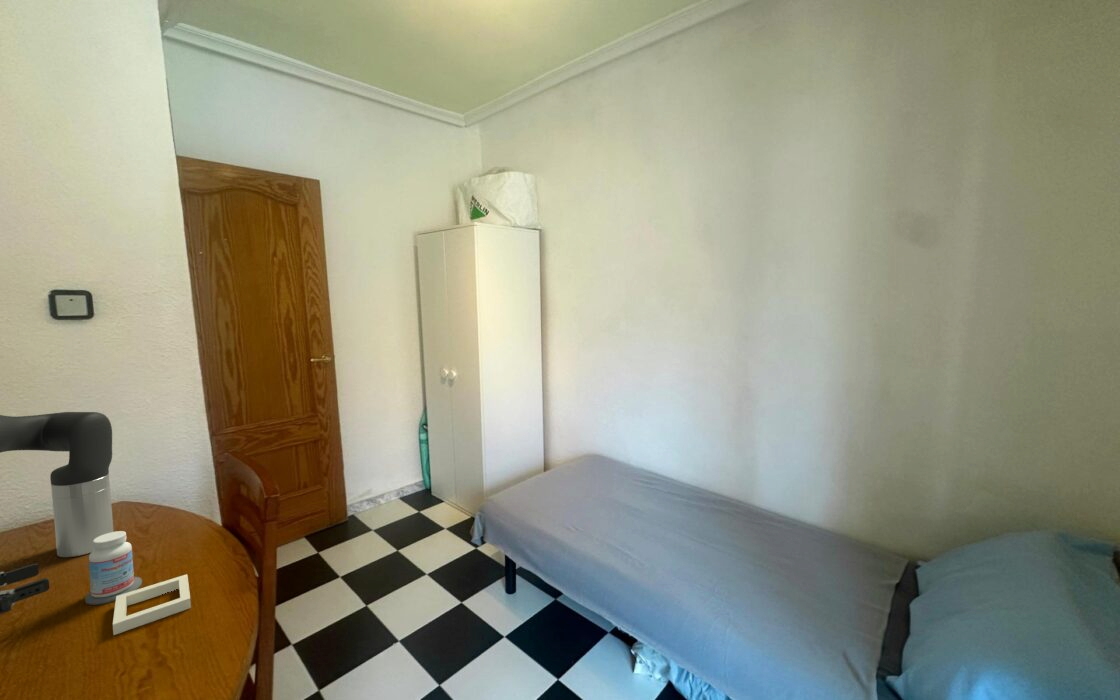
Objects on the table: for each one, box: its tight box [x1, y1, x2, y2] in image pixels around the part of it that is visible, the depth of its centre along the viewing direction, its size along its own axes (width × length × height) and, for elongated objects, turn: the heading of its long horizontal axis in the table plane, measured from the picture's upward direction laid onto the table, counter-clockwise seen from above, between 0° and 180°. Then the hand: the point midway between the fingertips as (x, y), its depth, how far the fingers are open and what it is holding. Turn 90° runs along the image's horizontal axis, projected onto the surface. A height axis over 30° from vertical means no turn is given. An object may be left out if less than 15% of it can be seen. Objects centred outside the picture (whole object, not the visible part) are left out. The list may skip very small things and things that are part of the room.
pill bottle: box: [88, 530, 135, 598], centre depth 86 cm, size 6×6×11 cm
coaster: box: [84, 576, 143, 606], centre depth 87 cm, size 8×8×1 cm
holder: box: [112, 573, 192, 636], centre depth 82 cm, size 10×10×2 cm
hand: (43, 575), depth 78 cm, fingers open, 8 cm apart
